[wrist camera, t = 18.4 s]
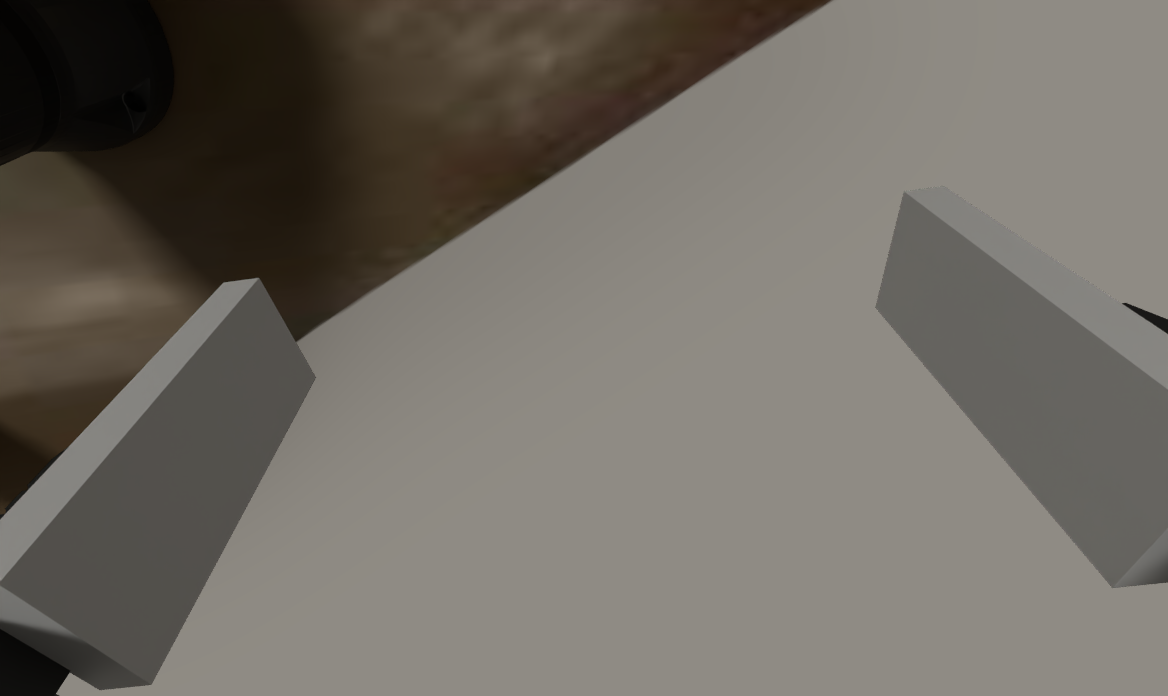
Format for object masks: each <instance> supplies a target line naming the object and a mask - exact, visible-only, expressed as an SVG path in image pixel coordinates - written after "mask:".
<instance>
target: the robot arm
mask: <svg viewBox="0 0 1168 696" xmlns="http://www.w3.org/2000/svg"><path fill="white" fill-rule="evenodd" d="M172 92H173V67H172V60H171V56H170V51H169V48H168V44H167V41H166V38H165V36H164V33H163V31H162V28H161V26H160V24H159V22H158V20H157V18H156V16H155V14H154V12H153V10H152V8H151V6H150V5H149V3H148V2H147V0H0V166H1V165H4V164H6V163H8V162H10V161H12V160H15V159H17V158H19V157H21V156H23V155H25V154H28V153H30V152H62V151H101V150H107V149H111V148H115V147H119V146H121V145H124V144H126V143H128V142H130V141H132V140H134V139H136V138H139V137H141V136H142V135H144V134H146V133H148V132H149V131H151V130H152V129H153V128H154V127H155V126H156V125H157V124H158V123H159V122H160V121H161V119H162V118H163V117H164V115H165V113H166V111H167V109H168V107H169V104H170V101H171V97H172ZM876 309H877V310H878V311H879V312H880V314H881V315H882V316H883V317H884V318H885V320H886V321H887V322H888V323H889V324H890V325H891V327H892V328H893V329H894V330H895V331H896V333H897V334H898V335H899V336H900V337H901V338H902V340H903V341H904V342H905V343H906V344H907V346H908V347H909V348H910V349H911V350H912V351H913V353H914V354H915V355H916V356H917V357H918V359H919V360H920V361H921V362H922V363H923V365H924V366H925V367H926V368H927V369H928V370H929V372H930V373H931V374H932V375H933V376H934V377H935V379H936V380H937V381H938V382H939V383H940V385H941V386H942V387H943V388H944V389H945V391H946V392H947V393H948V394H949V395H950V396H951V398H952V399H953V400H954V401H955V402H956V403H957V405H958V406H959V407H960V408H961V409H962V411H963V412H964V413H965V414H966V415H967V417H968V418H969V419H970V420H971V421H972V422H973V423H974V425H975V426H976V427H977V428H978V430H980V432H981V433H982V434H983V435H984V437H985V438H986V439H987V440H988V441H989V443H990V444H991V445H992V446H993V447H994V448H995V450H996V451H997V452H998V453H999V454H1000V455H1001V457H1002V458H1003V459H1004V460H1005V461H1006V463H1007V464H1008V465H1009V466H1010V467H1011V469H1012V470H1013V471H1014V472H1015V473H1016V474H1017V476H1018V477H1019V478H1020V479H1021V480H1022V481H1023V482H1024V484H1025V485H1026V486H1027V487H1028V489H1029V490H1030V491H1031V492H1032V493H1033V495H1034V496H1035V497H1036V498H1037V499H1038V500H1039V502H1040V503H1041V504H1042V505H1043V506H1044V507H1045V509H1046V510H1047V511H1048V512H1049V513H1050V515H1051V516H1052V517H1053V518H1054V519H1055V521H1056V522H1057V523H1058V524H1059V525H1060V526H1061V527H1062V529H1063V530H1064V531H1065V532H1066V534H1067V535H1068V536H1069V537H1070V538H1071V539H1072V541H1073V542H1074V543H1075V544H1076V545H1077V546H1078V548H1079V549H1080V550H1081V551H1082V552H1083V554H1084V555H1085V556H1086V557H1087V558H1088V559H1089V561H1090V562H1091V563H1092V564H1093V565H1094V567H1095V568H1096V569H1097V570H1098V571H1099V573H1100V574H1101V575H1102V576H1103V577H1104V578H1105V580H1106V581H1107V582H1108V583H1109V584H1110V586H1111V587H1112V588H1116V587H1126V586H1137V585H1146V584H1157V583H1166V582H1168V319H1165V318H1163V317H1160V316H1158V315H1155V314H1153V313H1150V312H1147V311H1145V310H1142V309H1140V308H1137V307H1135V306H1132V305H1130V304H1127V303H1120V302H1118V301H1117V300H1115V299H1114V298H1112V297H1111V296H1109V295H1108V294H1106V293H1104V292H1103V291H1102V290H1100V289H1099V288H1097V287H1096V286H1094V285H1093V284H1091V283H1090V282H1088V281H1087V280H1085V279H1083V278H1082V277H1081V276H1079V275H1077V274H1076V273H1074V272H1073V271H1072V270H1070V269H1068V268H1067V267H1066V266H1064V265H1062V264H1061V263H1059V262H1058V261H1056V260H1055V259H1053V258H1052V257H1050V256H1049V255H1047V254H1046V253H1044V252H1043V251H1041V250H1040V249H1038V248H1037V247H1035V246H1034V245H1032V244H1031V243H1029V242H1028V241H1026V240H1024V239H1023V238H1022V237H1020V236H1018V235H1017V234H1016V233H1014V232H1013V231H1011V230H1009V229H1008V228H1006V227H1005V226H1003V225H1002V224H1000V223H999V222H997V221H996V220H994V219H993V218H991V217H990V216H988V215H987V214H985V213H984V212H982V211H981V210H979V209H978V208H976V207H975V206H973V205H972V204H970V203H968V202H967V201H966V200H964V199H963V198H961V197H959V196H958V195H957V194H955V193H953V192H952V191H950V190H949V189H947V188H946V187H944V186H941V187H933V188H926V189H918V190H911V191H904V193H903V197H902V202H901V206H900V210H899V214H898V218H897V222H896V226H895V230H894V234H893V238H892V242H891V246H890V250H889V254H888V258H887V262H886V266H885V271H884V275H883V279H882V283H881V287H880V291H879V295H878V300H877V303H876ZM315 378H316V377H315V375H314V373H313V372H312V370H311V368H310V366H309V365H308V363H307V361H306V359H305V357H304V356H303V354H302V352H301V351H300V349H299V347H298V345H297V343H296V342H295V340H294V338H293V336H292V335H291V333H290V331H289V329H288V328H287V326H286V324H285V322H284V321H283V319H282V317H281V315H280V314H279V312H278V310H277V308H276V307H275V305H274V303H273V301H272V300H271V298H270V296H269V294H268V293H267V291H266V289H265V287H264V286H263V284H262V282H261V280H260V278H254V279H247V280H239V281H232V282H224V283H223V284H222V285H221V286H220V287H219V288H218V289H217V290H216V291H215V292H214V293H213V294H212V295H211V296H210V298H209V299H208V300H207V301H206V302H205V303H204V304H203V305H202V306H201V307H200V308H199V309H198V310H197V311H196V312H195V313H194V314H193V316H192V317H191V318H190V319H189V320H188V321H187V322H186V323H185V324H184V325H183V326H182V327H181V328H180V329H179V330H178V331H177V333H176V334H175V335H174V336H173V337H172V338H171V339H170V340H169V341H168V342H167V343H166V344H165V345H164V346H163V347H162V348H161V350H160V351H159V352H158V353H157V354H156V355H155V356H154V357H153V358H152V359H151V360H150V361H149V362H148V363H147V364H146V365H145V367H144V368H143V369H142V370H141V371H140V372H139V373H138V374H137V375H136V376H135V377H134V378H133V379H132V380H131V381H130V382H129V383H128V385H127V386H126V387H125V388H124V389H123V390H122V391H121V392H120V393H119V394H118V395H117V396H116V397H115V398H114V399H113V400H112V402H111V403H110V404H109V405H108V406H107V407H106V408H105V409H104V410H103V411H102V412H101V413H100V414H99V415H98V416H97V417H96V419H95V420H94V421H93V422H92V423H91V424H90V425H89V426H88V427H87V428H86V429H85V430H84V431H83V432H82V433H81V434H80V436H79V437H78V438H77V439H76V440H75V441H74V442H73V443H72V444H71V445H70V446H69V447H68V448H66V449H65V450H63V451H62V452H61V453H59V454H58V455H57V456H55V457H54V458H53V459H52V460H51V461H50V462H49V463H48V464H47V465H46V466H45V467H44V468H43V469H42V470H41V472H40V473H39V474H38V475H37V476H36V477H35V478H34V479H33V480H32V481H31V482H30V483H29V484H28V485H27V486H28V490H26V491H21V493H20V494H19V495H18V496H17V497H16V498H15V499H14V500H13V501H12V502H11V503H10V504H9V505H8V506H7V507H6V508H5V509H6V513H5V514H1V515H0V696H59V695H57V694H56V692H57V691H58V689H59V688H60V686H61V685H62V683H63V682H64V680H65V679H66V677H67V676H68V674H69V673H72V674H73V675H75V676H77V677H79V678H80V679H82V680H84V681H85V682H87V683H89V684H91V685H92V686H94V687H95V688H97V689H99V690H105V689H115V688H125V687H135V686H145V685H151V684H152V683H153V681H154V679H155V677H156V675H157V673H158V671H159V670H160V667H161V666H162V664H163V662H164V660H165V658H166V656H167V654H168V653H169V651H170V649H171V647H172V645H173V643H174V642H175V639H176V638H177V636H178V634H179V632H180V630H181V628H182V626H183V625H184V623H185V621H186V619H187V617H188V615H189V614H190V612H191V610H192V608H193V606H194V604H195V602H196V600H197V599H198V597H199V595H200V593H201V591H202V589H203V587H204V586H205V583H206V582H207V580H208V578H209V576H210V574H211V572H212V571H213V569H214V567H215V565H216V563H217V561H218V559H219V558H220V556H221V554H222V552H223V550H224V548H225V546H226V544H227V543H228V541H229V539H230V537H231V535H232V533H233V531H234V529H235V527H236V526H237V524H238V521H239V520H240V518H241V516H242V515H243V513H244V511H245V509H246V507H247V505H248V503H249V502H250V500H251V498H252V496H253V494H254V492H255V490H256V488H257V487H258V485H259V483H260V481H261V479H262V477H263V475H264V474H265V472H266V470H267V468H268V466H269V464H270V462H271V460H272V458H273V457H274V455H275V453H276V451H277V449H278V447H279V446H280V444H281V442H282V440H283V438H284V436H285V434H286V432H287V431H288V429H289V427H290V425H291V423H292V421H293V419H294V418H295V416H296V414H297V412H298V410H299V408H300V406H301V404H302V403H303V401H304V399H305V397H306V395H307V393H308V391H309V389H310V388H311V386H312V384H313V382H314V380H315Z"/></svg>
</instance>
